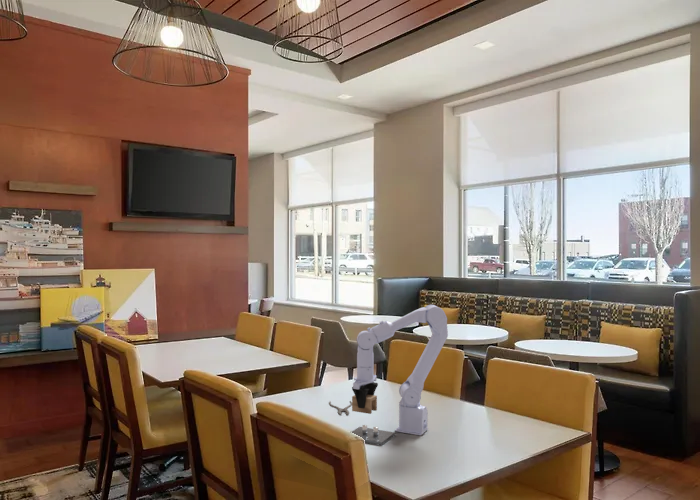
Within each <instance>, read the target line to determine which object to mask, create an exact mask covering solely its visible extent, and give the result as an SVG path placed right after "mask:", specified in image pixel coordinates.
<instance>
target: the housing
mask: <svg viewBox="0 0 700 500" xmlns="http://www.w3.org/2000/svg"><path fill="white" fill-rule="evenodd" d="M351 398H352V399H351V402H352V406H351V408H352V409H351V412H356V413H363V414H369V415H371V414H373V413H372V412H373V411H375V412H377V410H378V395H375V394H374V395H368V394H367V396H366V403H365V408H358V404H357V400H356V396H355V394H354V395H352V396H351Z"/></svg>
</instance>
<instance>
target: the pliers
mask: <svg viewBox="0 0 700 500" xmlns="http://www.w3.org/2000/svg"><path fill="white" fill-rule="evenodd" d="M349 403H350V404H349V405H347V406H346V407H344V408H341V407H339V406H337V405H334V404H332V402H331V400H329V402H328V404H329V406H330V407H332V408H334V409H336V410H337V414H338V415H339V416H342V414H343V413H345V414H346V415H347V416H349V414H350V411H349V410H348V409H349V408H350V407H351V408H352V400H350V401H349Z"/></svg>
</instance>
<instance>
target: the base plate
mask: <svg viewBox="0 0 700 500" xmlns="http://www.w3.org/2000/svg"><path fill="white" fill-rule="evenodd" d="M351 432H352V433H354V434H356V435H358V436H360V437H362V438H363V439H364V440H365V442H366V444H370V443H371V444H370V445H374V446H375V445H376V446H381V445H382V446H383V445H385V444H386V443H387V442H388V441H390V439H392V438H393V437H395V436H396V433H395V432H396V431H388V430H382V429H379V426H373V428H370V427H368V425H367V424H362V426H359V427H356V428H355V429H354V430H352V431H351Z"/></svg>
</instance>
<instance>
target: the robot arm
mask: <svg viewBox="0 0 700 500" xmlns="http://www.w3.org/2000/svg"><path fill="white" fill-rule="evenodd" d="M416 323H423V324H426V323H427V324H428V326H429V329H430V332H431V336H430V338H429V340H428V342H427V343H426V346H425V347H424V350H423V352H422V354H421V356H420V357H419V359H418V361H417V363H416V365H415V367H414V369H413V371H412V373H411V374H410V375H409V376H408V377H407V379H406V380H405V381H403V383H402V384H401V385H400V386H399V388H398V392H399V396H400V397H401V399H400V400H399V402H398V403H399V404H398V407H399V410H398V426H397V428H395V429H394V432H397V433H403V434H404V433H405V434H409V435H410V434H411V435H415V436H422V435H423V434H425V432H426V431H428V430H429V427H428V420H429V419H428V416H429V415H428V408H427V406H424V405H421V398H422V392H423V390H424V384H425V381H426V379H427V377H428V375H429V373H430V372H431V370H432V368H433V366H434V364H435V362H436V360H437V358H438V356H439V355H440V353H441V351H442V349H443V346H444V344H445V343H446V341H447V339H448V336H449V333H448V316H447V315H446V313H445V310H444V309H443V308H441V307H439V306H437V305H434V304H428V305H426V306H425V307H424V306H423V307H420V308H418V309H415V310H413V311H411V312H409V313H407V314H405V315H403V316H401V317H399V318H397V319H396V320H393V321H391V322H390V321H388V320H385V321H383V320H381V321H379V324H377V325H374V326H372V327H370V326H369V327H367V329H366V330H362V331H360V332H358V334H357V337H356V342H357V344H358V345H357V353H356V376H355V377H354V378H353V380H354V382H353V383H352V387H351V389H352V390H351V391H352V392H353V394H354V395H355V396H356V400H357V404H358V408H365V403H366V396H367V394H368V395H375V393H376V390H377V388H378V385H379V383H378V382H377V381H378V380H377V377H378V376H377V375H376V374H374V369H375V367H374V363H375V362H374V359H375V358H374V357H375V354H374V347H375V344H379V343H381V342H384V341H387V340H388V339H390V338H392V337H393V336H394V335H395V332H396V331H398V330H401V329H404V328H405V327H408V326H410V325H413V324H416Z"/></svg>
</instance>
